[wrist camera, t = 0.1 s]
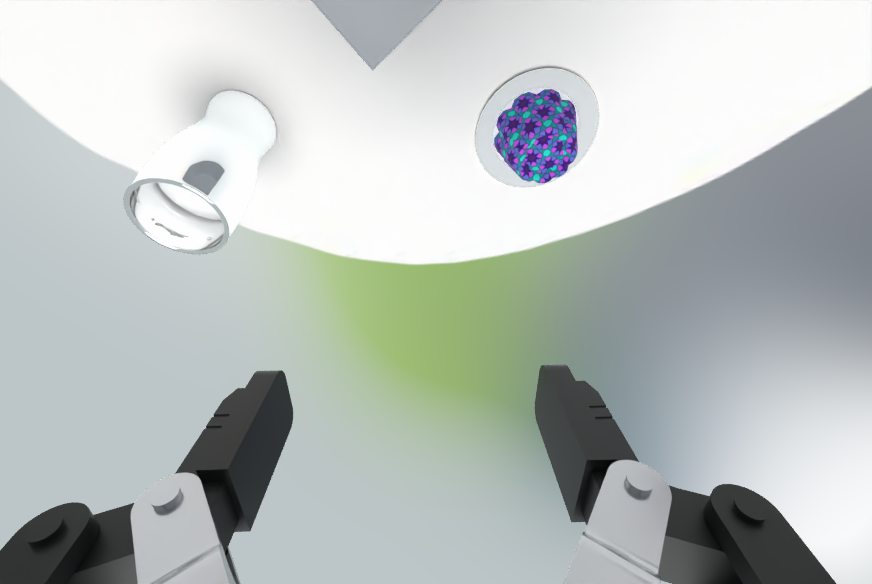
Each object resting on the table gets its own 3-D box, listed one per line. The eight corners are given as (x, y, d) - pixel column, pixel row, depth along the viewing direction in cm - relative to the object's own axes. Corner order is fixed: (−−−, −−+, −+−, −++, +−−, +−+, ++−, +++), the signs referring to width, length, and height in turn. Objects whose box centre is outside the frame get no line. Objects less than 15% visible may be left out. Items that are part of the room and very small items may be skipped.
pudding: (512, 42, 33) (523, 63, 30) (623, 94, 36) (645, 119, 33) (455, 163, 41) (458, 191, 38) (551, 196, 45) (562, 225, 41)
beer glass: (242, 69, 34) (166, 158, 24) (296, 138, 38) (253, 236, 28) (186, 106, 36) (95, 202, 26) (244, 167, 41) (187, 268, 31)
